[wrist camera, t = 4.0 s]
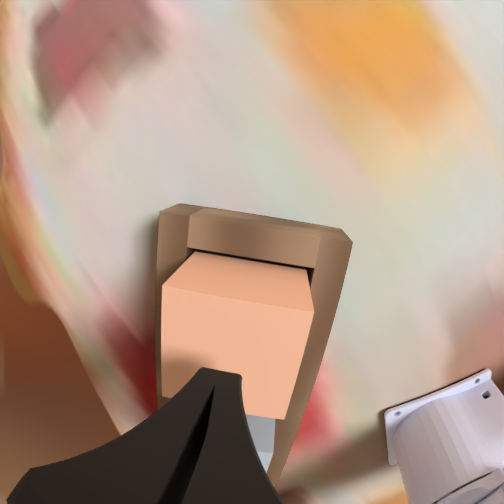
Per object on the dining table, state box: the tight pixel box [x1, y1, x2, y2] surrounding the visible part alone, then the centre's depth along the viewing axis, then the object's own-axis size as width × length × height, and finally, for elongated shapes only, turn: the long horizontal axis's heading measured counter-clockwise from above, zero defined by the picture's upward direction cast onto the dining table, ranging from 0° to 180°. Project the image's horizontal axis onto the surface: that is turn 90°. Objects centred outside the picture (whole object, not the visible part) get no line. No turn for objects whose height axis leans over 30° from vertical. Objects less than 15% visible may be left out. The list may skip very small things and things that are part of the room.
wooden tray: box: [155, 204, 353, 488], centre depth 19 cm, size 9×25×3 cm, turn 172°
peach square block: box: [161, 251, 314, 420], centre depth 14 cm, size 5×5×4 cm
